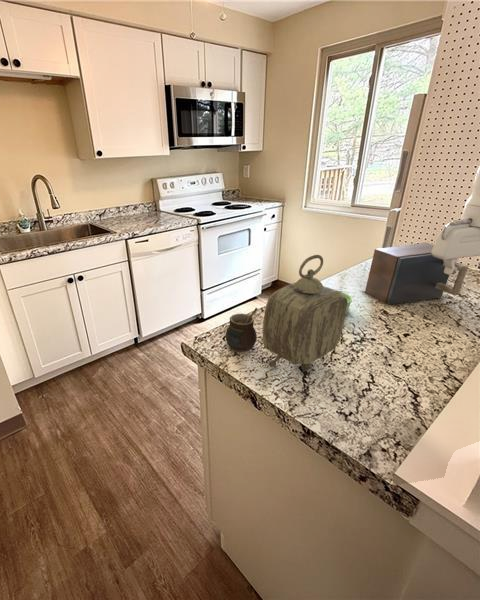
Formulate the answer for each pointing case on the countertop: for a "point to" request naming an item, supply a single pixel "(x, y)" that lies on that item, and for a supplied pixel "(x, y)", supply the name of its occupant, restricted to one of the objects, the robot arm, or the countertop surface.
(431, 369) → the countertop surface
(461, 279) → the cupboard door
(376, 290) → the cupboard
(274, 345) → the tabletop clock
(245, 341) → the mate gourd
